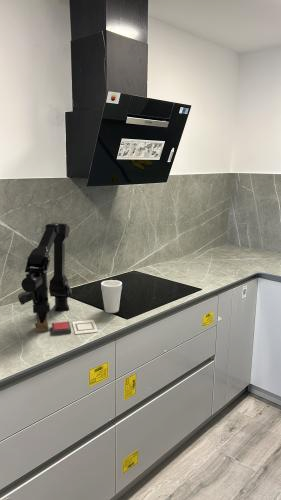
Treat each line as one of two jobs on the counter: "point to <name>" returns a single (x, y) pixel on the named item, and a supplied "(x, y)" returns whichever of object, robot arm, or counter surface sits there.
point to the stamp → (41, 324)
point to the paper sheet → (84, 327)
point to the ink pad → (61, 328)
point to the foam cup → (111, 295)
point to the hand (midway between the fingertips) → (41, 320)
